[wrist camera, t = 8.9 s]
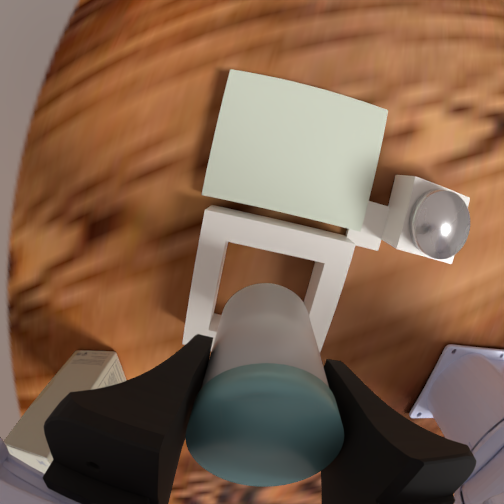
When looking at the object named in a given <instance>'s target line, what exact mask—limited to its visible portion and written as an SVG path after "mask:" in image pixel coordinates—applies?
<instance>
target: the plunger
mask: <svg viewBox="0 0 504 504" xmlns="http://www.w3.org/2000/svg"><path fill="white" fill-rule="evenodd" d="M469 230H470V215H469V211H468V208H467V206H466V204H465V202H464V201H463V199H462V198H461V197H460V196H459V195H457V194H456V193H454V192H451V191H446V190H440V189H433V190H429V191H427V192H425V193H423V194H422V195H421V196H420V197H419V198H418V199H417V200H416V202H415V203H414V205H413V207H412V209H411V212H410V216H409V233H410V237H411V239H412V241H413V243H414V245H415V246H416V247H417V248H418V249H419V250H420V251H422V252H423V253H425V254H427V255H428V256H430V257H432V258H435V259H447V258H450V257H452V256H453V255H455V254H456V253H457V252H458V251H459V250H460V249H461V248H462V247H463V245H464V244H465V242H466V240H467V237H468V234H469Z"/></svg>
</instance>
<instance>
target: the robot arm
mask: <svg viewBox="0 0 504 504" xmlns="http://www.w3.org/2000/svg"><path fill="white" fill-rule="evenodd" d="M212 341H213V337H209V336H204V335H200V334H197V335H195V336H194V337H193V338H192V339H191V340H190V341H189V342H188V343H187V344H186V345H185V346H184V347H182V348H181V349H180V350H179V351H178V352H176V353H175V354H174V355H173V356H171V357H170V358H168V359H167V360H165V361H164V362H163V363H161V364H160V365H158V366H156V367H155V368H153V369H151V370H150V371H148V372H146V373H144V374H142V375H140V376H137V377H135V378H132V379H130V380H127V381H124V382H122V383H119V384H115V385H111V386H107V387H103V388H98V389H92V390H84V391H76V392H70V393H69V394H68V395H67V396H66V397H65V398H64V399H63V400H62V401H61V402H60V403H59V404H58V405H57V406H56V408H55V409H54V410H53V412H52V413H51V414H50V416H49V417H48V418H47V419H46V421H45V423H44V434H45V437H46V440H47V443H48V446H49V449H50V452H51V455H52V457H53V461H52V463H51V464H50V466H49V468H48V469H47V471H46V472H45V474H44V473H42V472H40V471H38V470H37V469H35V468H33V467H31V466H29V465H28V464H26V463H24V462H23V461H21V460H19V459H18V458H16V457H14V456H13V455H11V454H9V451H8V448H7V446H6V444H5V442H4V441H3V440H2V439H1V437H0V504H168V502H169V498H170V494H171V490H172V485H173V481H174V477H175V473H176V469H177V465H178V461H179V457H180V453H181V449H182V446H183V443H184V440H185V437H186V429H187V426H188V422H189V418H190V415H191V411H192V408H193V404H194V401H195V398H196V396H197V394H198V392H199V391H200V390H201V388H202V384H203V380H204V377H205V373H206V369H207V366H208V362H209V357H210V352H211V347H212ZM453 350H454V351H453ZM452 351H453V352H452ZM324 371H325V374H326V378H327V382H328V385H329V388H330V390H331V391H332V393H333V395H334V397H335V400H336V403H337V406H338V410H339V414H340V417H341V421H342V425H343V428H344V442H343V445H342V448H341V450H340V452H339V454H338V455H337V456H336V458H335V459H334V460H333V461H332V462H331V463H330V464H329V465H328V466H327V467H325V468H324V469H323V470H321V483H322V504H504V350H503V349H491V348H481V347H471V346H462V345H453V344H449V345H447V346H446V347H445V348H444V350H443V352H442V354H441V356H440V358H439V360H438V362H437V364H436V366H435V368H434V370H433V372H432V374H431V376H430V378H429V379H428V381H427V383H426V385H425V387H424V389H423V390H422V392H421V394H420V396H419V397H418V399H417V401H416V403H415V404H414V406H413V408H412V409H411V411H410V413H409V416H410V417H411V418H434V419H435V420H436V422H437V424H438V426H439V427H440V429H441V431H442V433H443V434H444V436H445V438H444V437H441V436H439V435H437V434H434V433H432V432H430V431H428V430H426V429H424V428H422V427H420V426H418V425H417V424H415V423H413V422H411V421H410V420H408V419H406V418H405V417H403V416H402V415H400V414H399V413H398V412H396V411H395V410H393V409H392V408H391V407H389V406H388V405H387V404H386V403H385V402H383V401H382V400H381V399H380V398H379V397H378V396H377V395H375V394H374V393H373V392H372V391H371V390H370V389H369V388H368V387H367V386H366V385H365V384H364V383H363V382H362V381H361V380H360V379H359V378H358V377H357V376H356V375H355V374H354V373H353V372H352V371H351V370H350V369H349V368H348V367H347V366H346V365H345V364H344V363H343V362H341V361H336V360H330V359H327V360H326V363H325V365H324ZM453 494H454V496H453Z"/></svg>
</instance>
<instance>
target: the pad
mask: <svg viewBox="0 0 504 504" xmlns="http://www.w3.org/2000/svg"><path fill="white" fill-rule="evenodd" d="M387 114H388V110H386V109H383V108H380V107H378V106H375V105H372V104H369V103H366V102H363V101H360V100H357V99H354V98H351V97H348V96H344V95H341V94H338V93H334V92H331V91H327V90H324V89H320V88H316V87H313V86H309V85H305V84H301V83H297V82H293V81H288V80H284V79H280V78H275V77H270V76H265V75H260V74H255V73H250V72H244V71H238V70H232V69H230V72H229V76H228V80H227V84H226V88H225V92H224V96H223V100H222V104H221V108H220V113H219V117H218V121H217V125H216V130H215V134H214V139H213V143H212V148H211V152H210V157H209V161H208V166H207V171H206V176H205V180H204V185H203V190H202V195H204V196H209V197H214V198H219V199H224V200H228V201H233V202H238V203H242V204H247V205H251V206H256V207H260V208H265V209H269V210H273V211H278V212H282V213H286V214H291V215H295V216H299V217H303V218H308V219H312V220H316V221H320V222H324V223H328V224H332V225H336V226H340V227H344V228H348V229H352V230H356V231H359V232H361V228H362V224H363V221H364V217H365V213H366V209H367V205H368V201H369V197H370V193H371V189H372V185H373V181H374V177H375V172H376V168H377V163H378V159H379V154H380V150H381V145H382V140H383V135H384V130H385V125H386V119H387Z"/></svg>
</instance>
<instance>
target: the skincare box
mask: <svg viewBox="0 0 504 504" xmlns="http://www.w3.org/2000/svg"><path fill="white" fill-rule="evenodd" d="M124 381H126V378H125V375H124V372H123V369H122V366H121V364H120V362H119V359H118V356H117V353H116V352H114V351H88V350H87V351H86V350H77V351H75V352H74V353H73V355H72V356H71V357H70V358H69V359H68V360H67V362H66V363H65V364H64V365H63V366H62V368H61V369H60V370H59V371H58V372H57V374H56V375H55V376H54V377H53V378H52V380H51V381H50V382H49V383H48V384H47V386H46V387H45V388H44V389H43V391H42V392H41V393H40V394H39V396H38V397H37V398H36V399H35V401H34V402H33V403H32V404H31V406H30V407H29V408H28V410H27V411H26V412H25V413H24V415H23V416H22V417H21V419H20V420H19V421H18V423H17V424H16V425H15V427H14V428H13V430H12V431H11V432H10V433H9V435H8V436H7V437H6V439H5V440H4V442H5V444H6V446H7V448H8V451H9V454H11V455H13V456H14V457H16V458H18V459H19V460H21V461H23V462H24V463H26V464H28V465H29V466H31V467H33V468H35V469H37V470H38V471H40V472H42V473H44V474H45V472H46V471H47V469H48V468H49V466H50V464H51V463H52V461H53V457H52V455H51V452H50V449H49V446H48V443H47V440H46V437H45V434H44V423H45V421H46V419H47V418H48V417H49V416H50V414H51V413H52V412H53V410H54V409H55V408H56V406H57V405H58V404H59V403H60V402H61V401H62V400H63V399H64V398H65V397H66V396H67V395H68V394H69V393H70V392H76V391H84V390H92V389H98V388H103V387H107V386H111V385H115V384H119V383H122V382H124Z"/></svg>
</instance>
